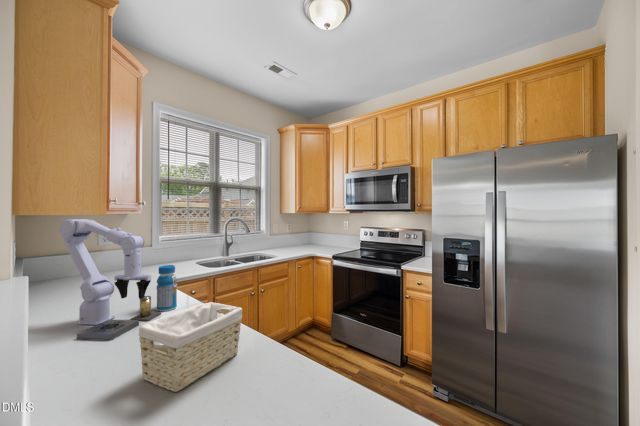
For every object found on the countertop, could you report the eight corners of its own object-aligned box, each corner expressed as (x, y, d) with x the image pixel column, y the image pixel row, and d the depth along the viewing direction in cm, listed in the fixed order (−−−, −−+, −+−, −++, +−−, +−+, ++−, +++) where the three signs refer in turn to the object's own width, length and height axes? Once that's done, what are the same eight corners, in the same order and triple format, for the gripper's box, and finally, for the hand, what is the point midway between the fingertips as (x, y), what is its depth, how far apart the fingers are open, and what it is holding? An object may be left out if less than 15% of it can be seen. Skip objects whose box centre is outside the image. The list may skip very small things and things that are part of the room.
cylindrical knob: (137, 317, 113) (137, 298, 113) (144, 314, 117) (144, 295, 117) (145, 317, 112) (145, 298, 112) (153, 314, 116) (153, 296, 116)
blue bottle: (161, 313, 120) (161, 268, 120) (153, 309, 125) (153, 266, 125) (180, 308, 127) (180, 265, 127) (172, 304, 132) (172, 263, 132)
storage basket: (208, 342, 92) (208, 299, 92) (245, 353, 85) (245, 306, 85) (134, 381, 70) (135, 325, 71) (175, 400, 63) (176, 337, 63)
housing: (76, 339, 95) (76, 333, 95) (108, 324, 108) (108, 319, 108) (111, 340, 94) (111, 334, 94) (138, 325, 107) (138, 320, 107)
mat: (130, 320, 111) (130, 318, 111) (143, 313, 119) (143, 312, 119) (148, 321, 111) (148, 319, 111) (161, 314, 119) (161, 312, 119)
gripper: (108, 266, 107) (107, 300, 107) (142, 266, 106) (142, 301, 106) (122, 263, 114) (122, 295, 114) (154, 263, 113) (154, 295, 113)
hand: (132, 297), depth 110 cm, fingers open, 7 cm apart
